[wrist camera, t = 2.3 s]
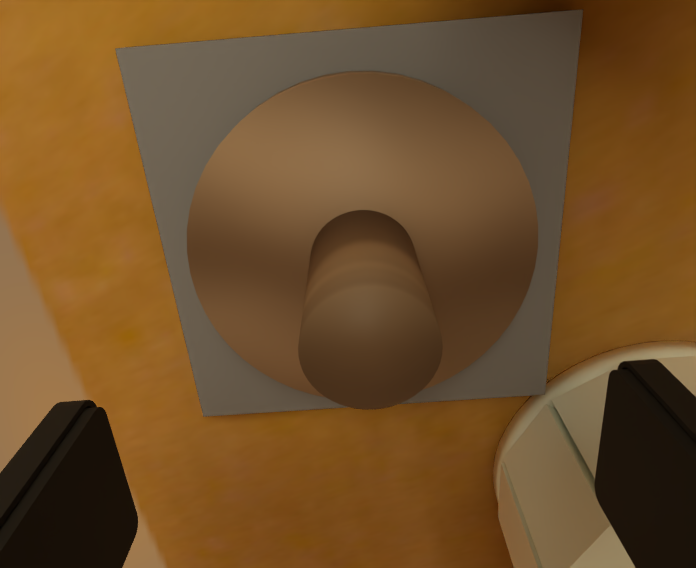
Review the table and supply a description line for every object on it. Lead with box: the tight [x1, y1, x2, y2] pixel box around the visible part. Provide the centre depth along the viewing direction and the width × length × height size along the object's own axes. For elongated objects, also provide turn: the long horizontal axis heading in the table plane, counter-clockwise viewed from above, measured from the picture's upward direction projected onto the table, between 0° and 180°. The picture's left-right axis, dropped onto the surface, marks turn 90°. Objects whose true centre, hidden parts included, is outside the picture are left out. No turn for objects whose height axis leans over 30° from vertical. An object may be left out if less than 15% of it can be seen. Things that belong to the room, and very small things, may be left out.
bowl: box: [493, 341, 696, 568], centre depth 18 cm, size 11×11×6 cm
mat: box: [115, 10, 583, 417], centre depth 17 cm, size 12×12×1 cm
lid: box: [187, 71, 538, 409], centre depth 14 cm, size 10×10×6 cm
